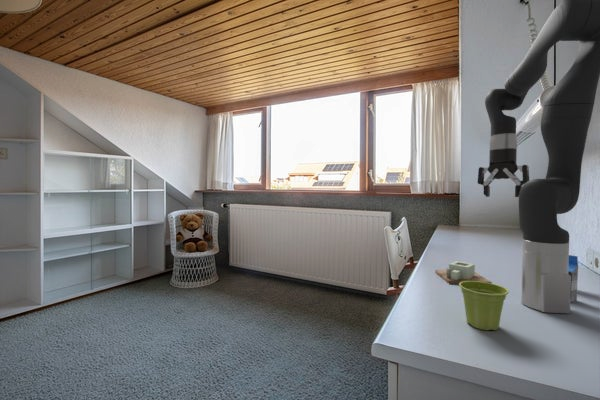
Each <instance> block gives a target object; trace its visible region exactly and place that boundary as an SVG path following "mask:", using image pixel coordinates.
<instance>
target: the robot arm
mask: <svg viewBox="0 0 600 400" xmlns="http://www.w3.org/2000/svg"><path fill="white" fill-rule="evenodd" d="M559 42H579V46H578V51H577V54H576V56H575V60H574V61H573V64H572V65H571V66H570V69H569V70H568V71H567V72H566V73H565V74H564V75H563V77H562V78H561V79H560V80H559V81H558V82H557V83H556V84H555V86H554V87H553V88H552V89H551V90H550V91H549V93H548V95H547V96H546V98H545V100H544V103H543V108H542V112H541V113H542V114H541V119H540V132H541V133H540V134H541V136H542V140H543V142H544V146H545V148H546V151H547V155H548V163H547V164H548V165H547V170H546V171H547V172H546V175H545V177H544V178H534V179H530V171H529V170H530V167H529V165H528V164H523V165H518V164H517V153H518V151H517V150H518V149H517V148H518V143H517V142H518V141H517V119H516V117H514V116H512V115H511V116H510V115H507V114H505V113H504V112H503V111H513V110H516V109H518V108H520V107H521V106H522V104H523V103H524V100H525V99H526V97H527V94H528V93H529V91H530V90H531V89H532V88H533V86H534V85H536V84H537V83H538V81H540V79H542V77H543V76H544V75H545V73H546V70H547V68H548V67H547V66H548V55H549V51H550V50H551V48H552V47H554V46H555V45H556V44H557V43H559ZM599 81H600V0H561V1H560V3H559V4H558V5H557V6H556V7H555V8H554V9H553V11H552V12H551V14H550V15H549V17H548V18H547V20H546V21H545V23H544V25H543V26H542V28H541V29H540V31H539V33H538V35H537V36H536V38H535V39H534V41H533V42H532V45H531V46H530V47H529V50H528V51H527V53H526V55H525V57H523V59H522V60H521V62H520V63H519V64H518V65H517V67H516V68H515V69H514V70H513V72H511V73H510V75H509V76H508V77H507V79H506V80H505V82H504V88H494V89H491V90H490V91H489V92H488V93H486V94H487V95H486V96H485V99H484V100H485V101H484V105H485V106H484V107H485V109H486V112H487V113H486V114H487V116H488V119H489V122H490V141H489V158H488V160H489V161H488V162H489V163H488V164H489V165H488V167H483V166H482V167H481V166H480V167H478V174H477V184H478V185H482V186H483V195H484V196H485V198H486V197H487V198H488V197H489V198H490V196H491V186H490V185H491V184H492V182H493V181H495V180H502V179H504V180H509V179H510V181H512V182H514V184H515V188H514V189H515V191H514V197H515V198H518V221H519V222H518V223H519V229H520V230H521V232H522V255H521V256H522V257H521V258H522V262H521V263H522V264H521V268H522V269H521V304H523V305H524V306H526V307H528V308H531V309H534V310H537V311H539V312H542V313H551V314H570V313H571V302H570V293H571V276H570V275H569V274H568V265H569V255H570V233H569V231H568V230H566V229H564V228H562V227H561V226H560V225H559V223H558V215H562V214H566V213H569V212H570V211H572V210H573V209H574V208H575V207H576V205H577V203H578V201H579V197H580V190H581V189H580V188H581V179H582V178H581V177H582V176H581V175H582V163H583V158H584V152H585V147H586V142H587V137H588V131H589V127H590V123H591V119H592V116H593V111H594V106H595V100H596V94H597V89H598V86H599V85H598V84H599ZM518 170H519V172H521V173H522V180H520V178H519V177H518V176H517V175H516V174H515V173H516V172H517V171H518ZM486 173H489V175H488V177H487V178H486V179H485V174H486Z"/></svg>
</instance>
